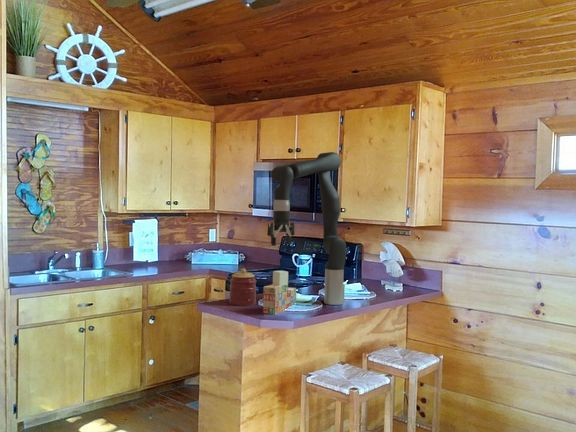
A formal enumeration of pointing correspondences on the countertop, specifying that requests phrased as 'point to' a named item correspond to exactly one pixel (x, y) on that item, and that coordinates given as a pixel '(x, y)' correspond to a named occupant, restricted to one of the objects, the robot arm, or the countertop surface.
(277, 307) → the stack of blocks
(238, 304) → the canister
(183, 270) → the countertop surface
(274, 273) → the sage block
